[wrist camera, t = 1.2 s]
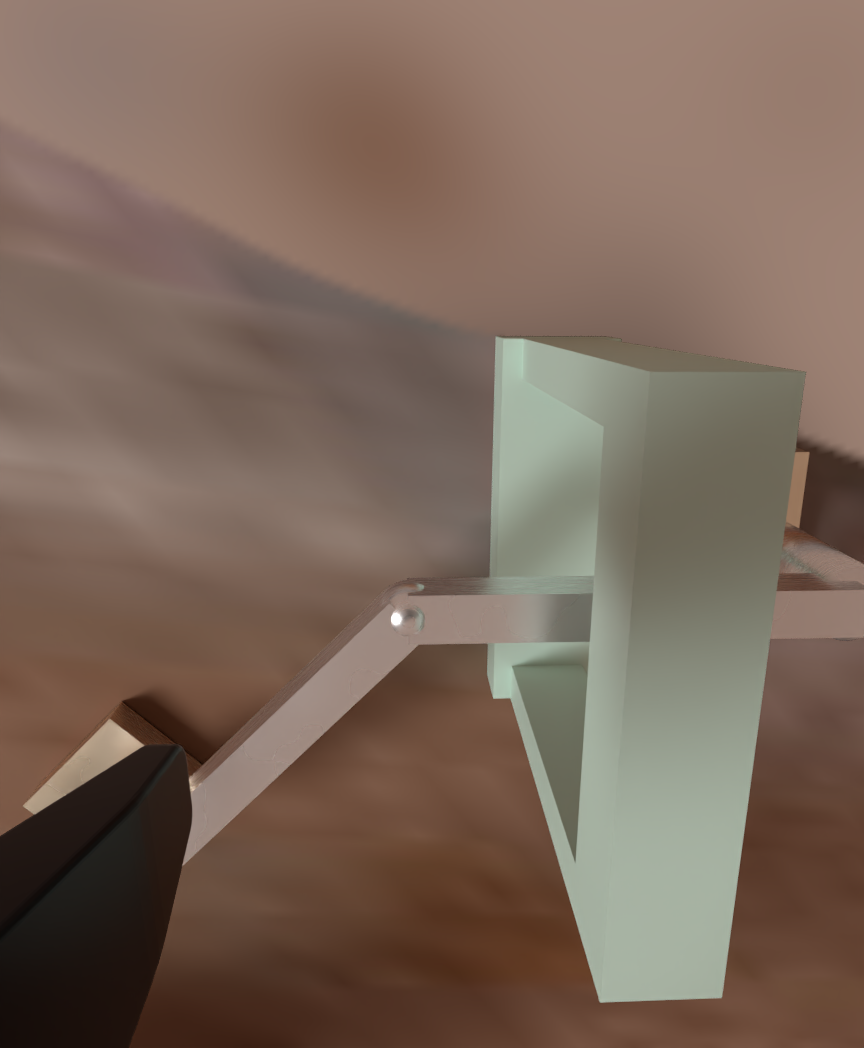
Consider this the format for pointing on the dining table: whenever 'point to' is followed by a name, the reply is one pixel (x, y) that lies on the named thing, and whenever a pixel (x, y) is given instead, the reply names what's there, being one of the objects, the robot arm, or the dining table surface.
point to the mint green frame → (643, 630)
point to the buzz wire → (437, 618)
